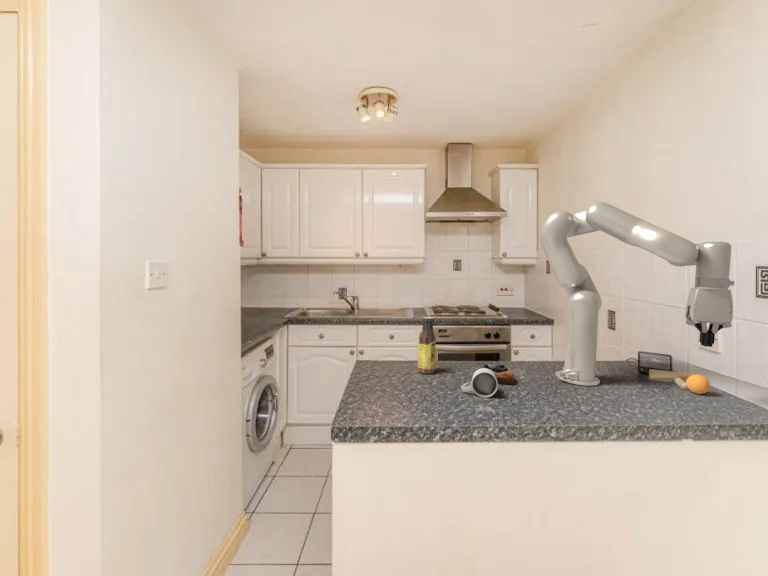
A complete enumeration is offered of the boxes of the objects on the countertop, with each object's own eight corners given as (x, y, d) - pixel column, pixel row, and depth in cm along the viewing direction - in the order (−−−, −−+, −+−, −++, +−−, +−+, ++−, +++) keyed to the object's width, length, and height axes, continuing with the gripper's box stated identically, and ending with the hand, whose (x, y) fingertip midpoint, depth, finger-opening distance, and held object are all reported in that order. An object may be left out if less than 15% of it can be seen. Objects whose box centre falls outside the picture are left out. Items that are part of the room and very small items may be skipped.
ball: (692, 385, 126) (690, 398, 123) (683, 371, 125) (681, 384, 122) (714, 383, 122) (713, 397, 118) (705, 369, 121) (704, 383, 117)
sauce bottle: (434, 375, 134) (436, 319, 132) (416, 373, 135) (418, 318, 134) (435, 370, 140) (437, 317, 139) (418, 369, 141) (420, 316, 140)
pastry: (478, 374, 137) (478, 358, 137) (512, 377, 134) (513, 361, 134) (478, 383, 127) (479, 366, 126) (516, 387, 124) (517, 369, 123)
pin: (688, 382, 125) (678, 375, 132) (680, 384, 125) (671, 377, 133) (691, 389, 124) (682, 382, 132) (683, 391, 125) (674, 384, 133)
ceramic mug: (495, 390, 119) (496, 366, 119) (497, 398, 111) (498, 373, 111) (461, 387, 121) (461, 363, 121) (460, 395, 113) (461, 370, 113)
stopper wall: (698, 385, 131) (698, 375, 131) (650, 380, 135) (651, 370, 135) (695, 383, 133) (696, 373, 133) (648, 378, 137) (649, 369, 137)
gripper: (735, 284, 112) (730, 346, 114) (675, 282, 117) (671, 341, 118) (750, 285, 105) (745, 351, 106) (686, 283, 110) (681, 345, 111)
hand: (706, 345), depth 112 cm, fingers closed
